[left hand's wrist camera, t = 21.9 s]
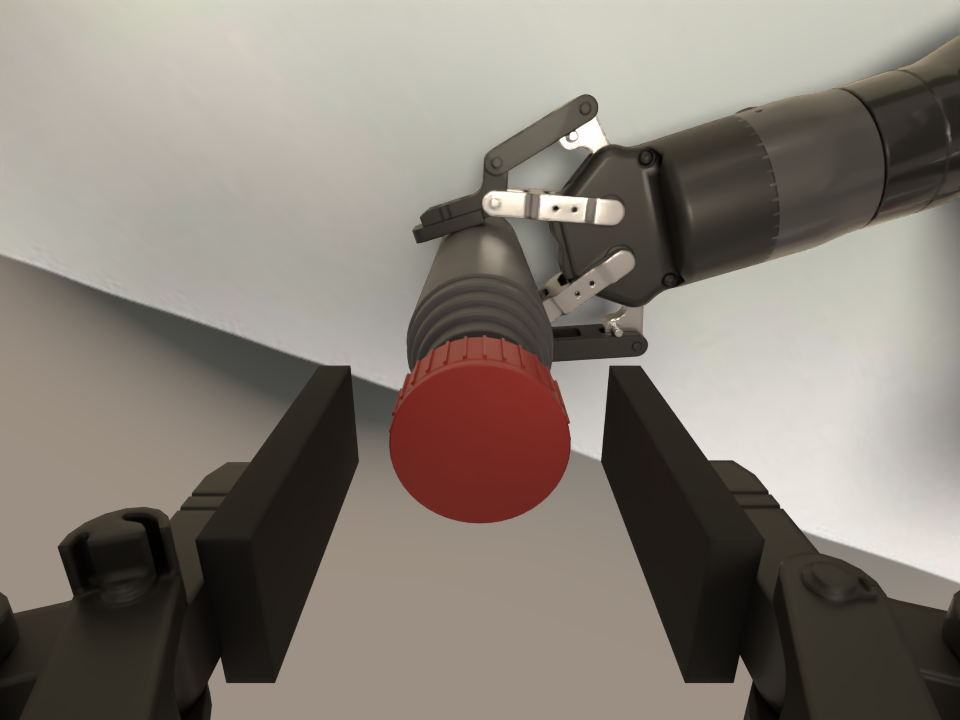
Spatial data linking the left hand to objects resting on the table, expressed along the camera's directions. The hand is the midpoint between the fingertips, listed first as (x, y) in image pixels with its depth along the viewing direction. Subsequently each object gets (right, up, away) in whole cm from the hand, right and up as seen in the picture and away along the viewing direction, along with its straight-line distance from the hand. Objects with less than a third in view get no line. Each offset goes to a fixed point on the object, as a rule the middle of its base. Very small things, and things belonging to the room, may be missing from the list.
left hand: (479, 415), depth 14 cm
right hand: (-2, +5, +16) cm, 17 cm away
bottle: (0, +8, +22) cm, 23 cm away
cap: (0, -1, -1) cm, 1 cm away
